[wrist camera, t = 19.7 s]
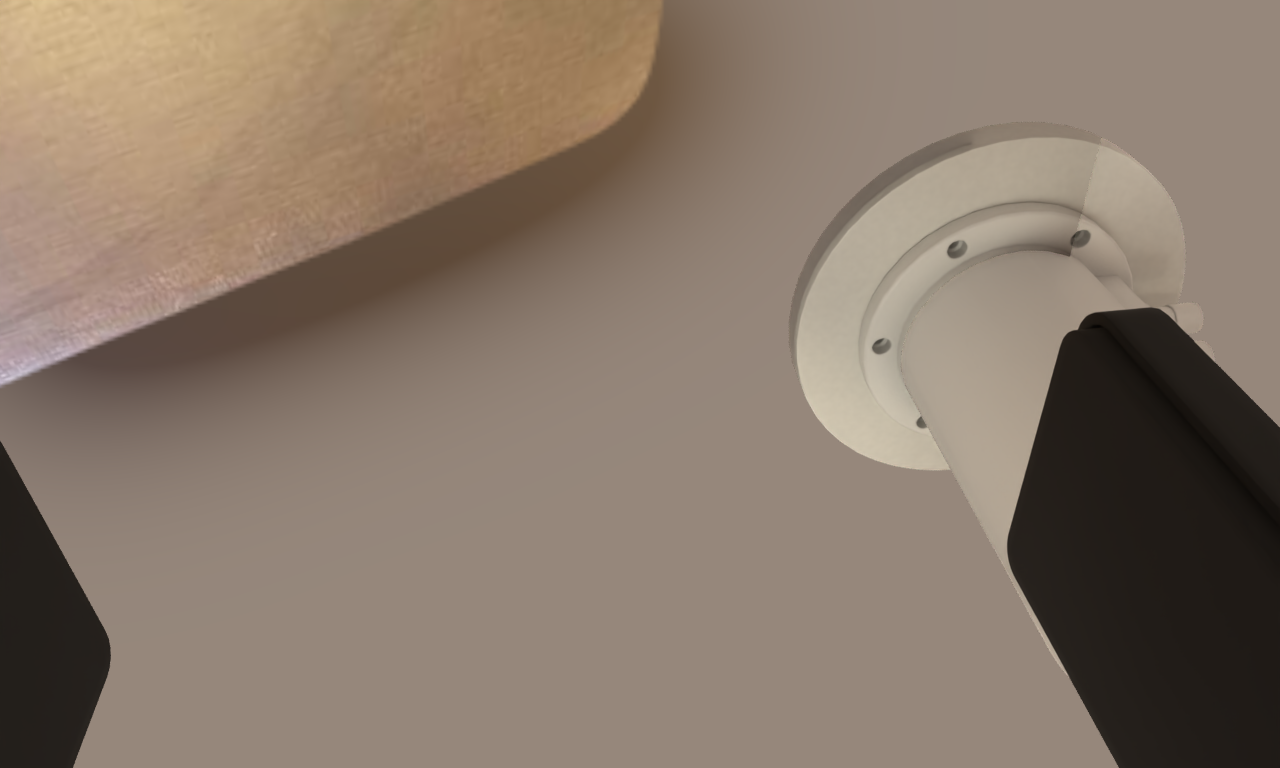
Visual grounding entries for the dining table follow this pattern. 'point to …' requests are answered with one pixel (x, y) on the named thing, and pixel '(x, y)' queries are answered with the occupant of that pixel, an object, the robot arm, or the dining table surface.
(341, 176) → the dining table surface
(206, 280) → the dining table surface
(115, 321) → the dining table surface
